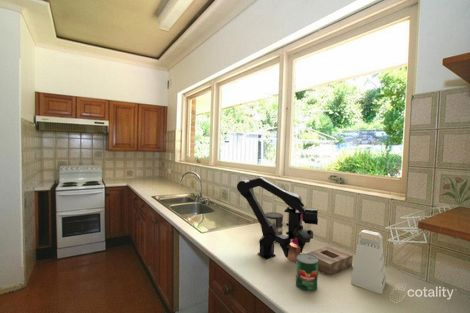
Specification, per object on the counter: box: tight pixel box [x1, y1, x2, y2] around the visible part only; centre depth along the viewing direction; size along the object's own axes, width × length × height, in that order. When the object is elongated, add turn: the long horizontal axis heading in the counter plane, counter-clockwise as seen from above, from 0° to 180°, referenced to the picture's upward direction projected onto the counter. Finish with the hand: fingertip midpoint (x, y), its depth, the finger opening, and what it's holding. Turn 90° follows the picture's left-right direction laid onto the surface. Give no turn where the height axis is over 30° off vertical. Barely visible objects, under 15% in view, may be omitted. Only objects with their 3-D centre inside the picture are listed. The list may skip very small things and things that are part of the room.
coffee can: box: [265, 211, 284, 243], centre depth 139 cm, size 10×10×14 cm
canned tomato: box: [295, 253, 319, 293], centre depth 93 cm, size 8×8×11 cm
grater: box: [350, 229, 387, 295], centre depth 96 cm, size 10×10×20 cm
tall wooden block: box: [287, 242, 301, 264], centre depth 114 cm, size 3×5×7 cm, turn 33°
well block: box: [306, 245, 354, 277], centre depth 110 cm, size 16×12×5 cm
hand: (293, 255), depth 114 cm, fingers open, 9 cm apart
